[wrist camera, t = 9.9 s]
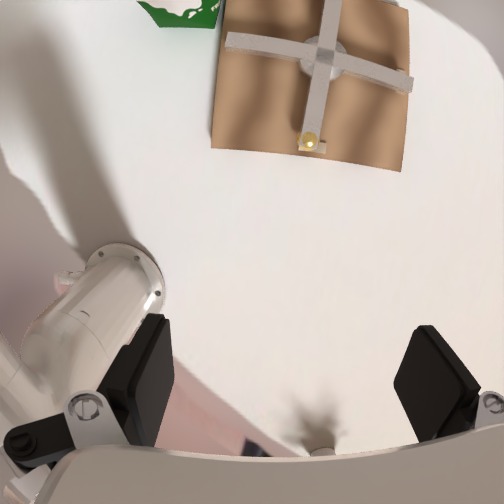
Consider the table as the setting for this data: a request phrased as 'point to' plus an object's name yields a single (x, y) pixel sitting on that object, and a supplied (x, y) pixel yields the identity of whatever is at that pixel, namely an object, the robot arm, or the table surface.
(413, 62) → the table surface
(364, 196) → the table surface
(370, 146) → the stand plate
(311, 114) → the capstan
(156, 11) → the milk carton
